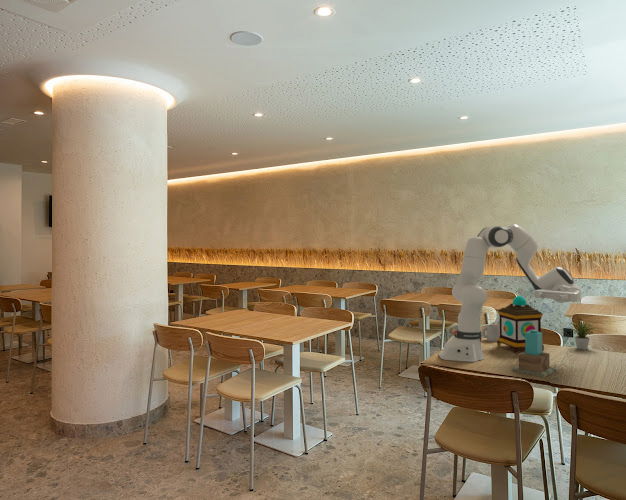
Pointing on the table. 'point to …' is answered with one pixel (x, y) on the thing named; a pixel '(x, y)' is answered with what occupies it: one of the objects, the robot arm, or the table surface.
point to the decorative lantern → (518, 323)
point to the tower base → (534, 364)
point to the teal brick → (533, 342)
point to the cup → (491, 333)
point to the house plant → (582, 335)
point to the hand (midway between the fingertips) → (550, 296)
